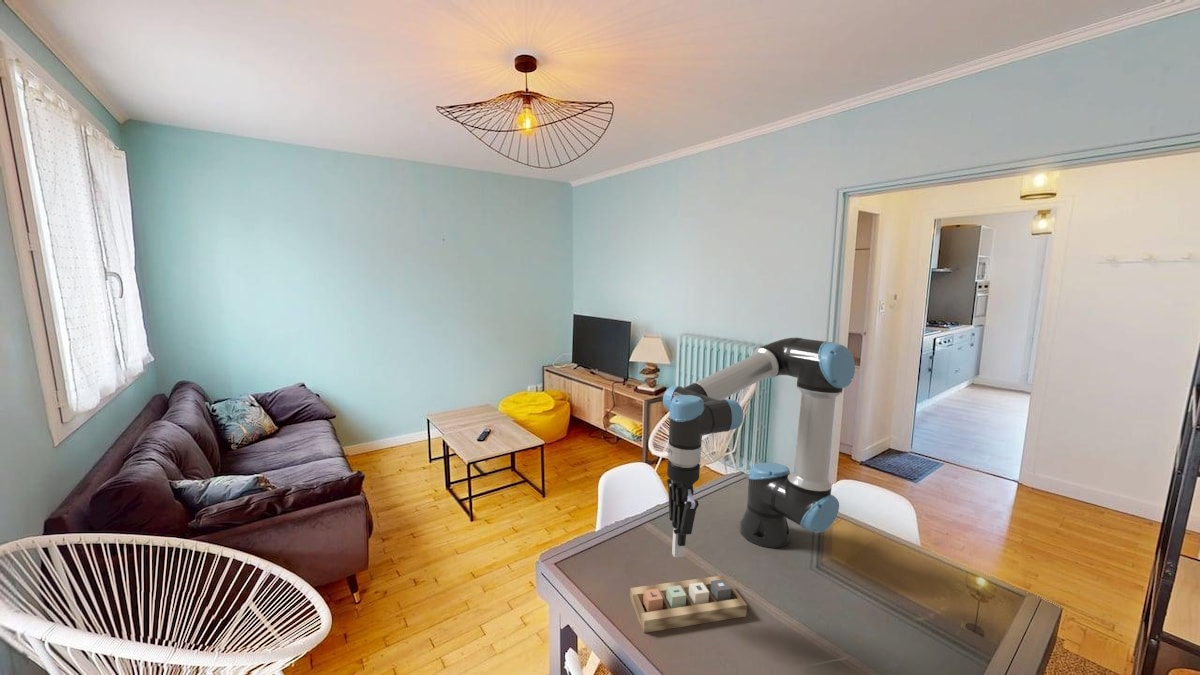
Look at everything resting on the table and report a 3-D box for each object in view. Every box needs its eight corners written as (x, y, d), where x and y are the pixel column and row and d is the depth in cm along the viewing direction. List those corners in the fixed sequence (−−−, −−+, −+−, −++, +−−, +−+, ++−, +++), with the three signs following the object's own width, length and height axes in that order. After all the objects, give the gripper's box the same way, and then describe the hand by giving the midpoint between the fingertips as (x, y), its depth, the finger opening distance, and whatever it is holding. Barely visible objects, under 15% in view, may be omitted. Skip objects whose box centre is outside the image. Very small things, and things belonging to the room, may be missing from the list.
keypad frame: (723, 585, 117) (724, 575, 117) (746, 616, 107) (746, 604, 106) (629, 599, 111) (630, 588, 111) (644, 632, 101) (644, 620, 100)
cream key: (701, 593, 112) (702, 581, 111) (708, 603, 108) (709, 591, 108) (688, 595, 111) (689, 583, 111) (694, 606, 107) (695, 593, 107)
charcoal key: (723, 590, 113) (724, 578, 113) (730, 600, 110) (731, 588, 109) (710, 592, 112) (711, 580, 112) (717, 602, 109) (718, 590, 108)
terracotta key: (656, 600, 109) (657, 588, 109) (662, 610, 106) (662, 598, 105) (643, 602, 108) (643, 590, 108) (648, 613, 105) (648, 600, 104)
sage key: (679, 597, 110) (680, 584, 110) (685, 607, 107) (686, 594, 106) (666, 599, 110) (666, 586, 109) (671, 609, 106) (672, 596, 106)
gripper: (658, 451, 109) (654, 541, 112) (680, 474, 96) (674, 574, 99) (686, 450, 111) (681, 537, 114) (711, 472, 98) (705, 570, 101)
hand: (678, 554), depth 107 cm, fingers closed
